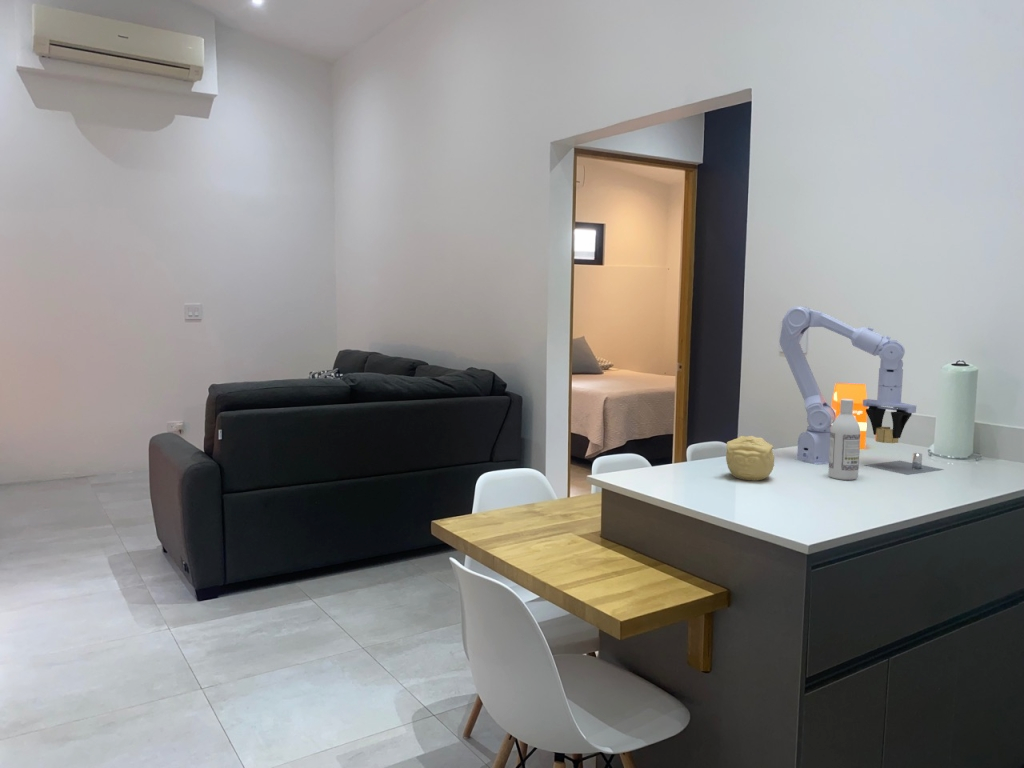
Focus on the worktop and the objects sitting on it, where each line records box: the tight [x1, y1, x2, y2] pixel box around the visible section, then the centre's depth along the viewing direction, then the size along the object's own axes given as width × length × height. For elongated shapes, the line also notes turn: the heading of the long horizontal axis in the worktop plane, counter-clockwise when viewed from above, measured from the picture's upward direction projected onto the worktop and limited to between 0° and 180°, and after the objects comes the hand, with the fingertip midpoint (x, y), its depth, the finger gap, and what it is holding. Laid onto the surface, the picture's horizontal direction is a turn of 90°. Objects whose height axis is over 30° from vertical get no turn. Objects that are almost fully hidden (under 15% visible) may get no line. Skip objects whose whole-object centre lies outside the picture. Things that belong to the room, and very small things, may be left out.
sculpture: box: [725, 435, 775, 481], centre depth 189 cm, size 12×12×11 cm
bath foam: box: [828, 399, 861, 481], centre depth 190 cm, size 7×7×20 cm
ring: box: [874, 426, 899, 444], centre depth 201 cm, size 5×5×4 cm
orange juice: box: [831, 382, 868, 450], centre depth 232 cm, size 8×9×20 cm
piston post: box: [911, 452, 923, 469], centre depth 200 cm, size 2×2×4 cm
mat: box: [863, 460, 945, 476], centre depth 202 cm, size 15×13×1 cm
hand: (886, 436), depth 201 cm, fingers closed on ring, 5 cm apart
